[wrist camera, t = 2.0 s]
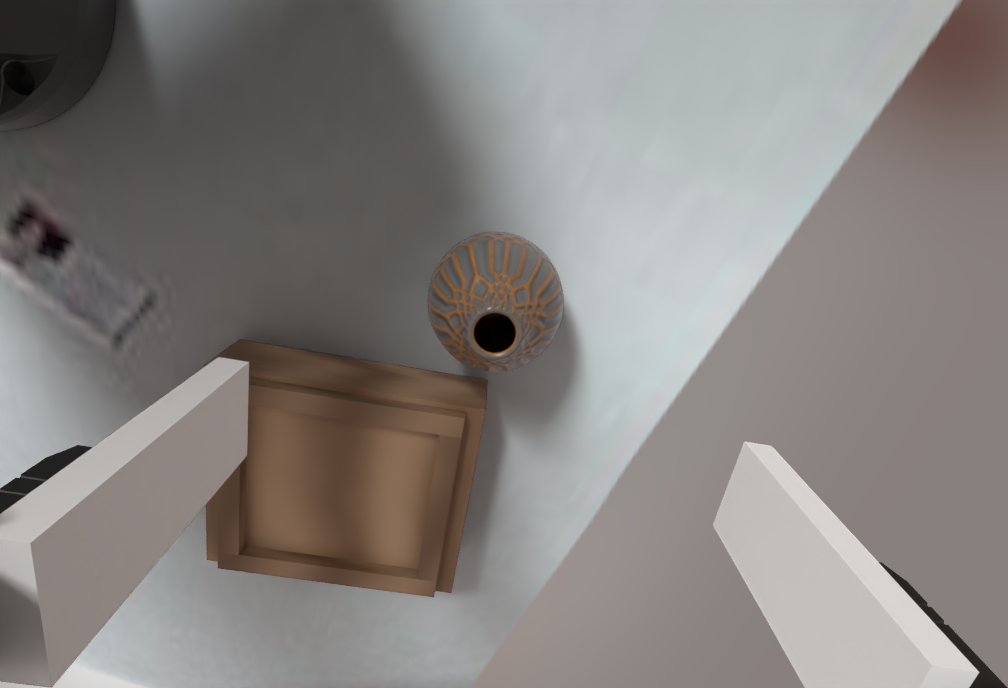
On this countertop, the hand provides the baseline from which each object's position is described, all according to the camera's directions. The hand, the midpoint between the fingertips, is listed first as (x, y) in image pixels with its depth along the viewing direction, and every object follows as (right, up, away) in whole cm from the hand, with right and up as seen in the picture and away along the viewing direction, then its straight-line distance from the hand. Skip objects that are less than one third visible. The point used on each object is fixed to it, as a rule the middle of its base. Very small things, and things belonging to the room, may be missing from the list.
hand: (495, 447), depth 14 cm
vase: (0, +6, +17) cm, 18 cm away
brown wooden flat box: (-9, -4, +20) cm, 23 cm away
